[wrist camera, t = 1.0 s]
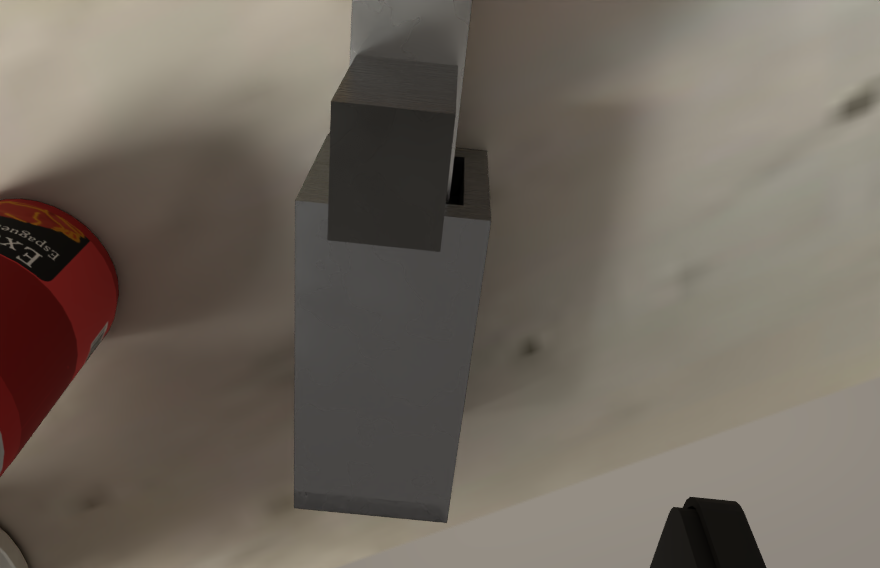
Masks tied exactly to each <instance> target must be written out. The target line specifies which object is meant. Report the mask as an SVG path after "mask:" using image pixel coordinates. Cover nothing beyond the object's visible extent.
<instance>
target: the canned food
mask: <svg viewBox="0 0 880 568" xmlns="http://www.w3.org/2000/svg"><path fill="white" fill-rule="evenodd" d="M118 296H119V290H118V279H117V275H116V271H115V267H114V265H113V263H112V261H111V259H110V257H109V254H108V252H107V251H106V249H105V248H104V247H103V245H102V244H101V242H100V241H99V240H98V238H97V237H96V236H95V235H94V234H93V233H92V232H91V231H90V230H89V229H88V228H87V227H86V226H85V225H83V224H82V223H81V222H79V221H78V220H76V219H75V218H74V217H72V216H71V215H69V214H67V213H65V212H63V211H62V210H60V209H58V208H56V207H53V206H50V205H47V204H44V203H41V202H38V201H32V200H26V199H5V200H0V477H1V475H2V474H3V473H4V471H5V470H6V469H7V468H8V466H9V465H10V464H11V463H12V462H13V460H14V459H15V458H16V456H17V455H18V454H19V452H20V451H21V449H22V448H23V447H24V445H25V444H26V443H27V441H28V440H29V439H30V437H31V436H32V434H33V433H34V432H35V430H36V429H37V428H38V426H39V425H40V424H41V422H42V421H43V419H44V418H45V417H46V415H47V414H48V413H49V411H50V410H51V409H52V407H53V406H54V405H55V403H56V402H57V400H58V399H59V398H60V396H61V395H62V394H63V392H64V391H65V390H66V388H67V387H68V385H69V384H70V383H71V381H72V380H73V379H74V377H75V376H76V375H77V373H78V372H79V370H80V369H81V368H82V366H83V365H84V364H85V362H86V361H87V360H88V358H89V357H90V355H91V354H92V353H93V351H94V350H95V349H96V347H97V346H98V345H99V343H100V342H101V340H102V339H103V338H104V336H105V335H106V334H107V332H108V331H109V329H110V327H111V325H112V322H113V320H114V317H115V312H116V307H117V301H118Z"/></svg>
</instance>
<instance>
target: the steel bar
mask: <svg viewBox="0 0 880 568" xmlns="http://www.w3.org/2000/svg"><path fill="white" fill-rule="evenodd" d="M471 6H472V0H352V17H351V42H350V67H349V69H348V71H347V73H346V75H345V77H344V78H343V80H342V82H341V84H340V86H339V88H338V89H337V91H336V93H335V95H334V97H333V99H332V100H331V126H330V162H329V198H328V235H327V240H329V241H339V242H349V243H358V244H368V245H378V246H387V247H397V248H406V249H416V250H426V251H435V252H440V250H441V241H442V232H443V223H444V214H445V206H446V204H449V198H450V189H451V180H452V172H453V163H454V154H455V145H456V137H457V128H458V119H459V111H460V102H461V93H462V84H463V76H464V67H465V58H466V49H467V41H468V32H469V23H470V14H471Z"/></svg>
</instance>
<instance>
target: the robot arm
mask: <svg viewBox="0 0 880 568" xmlns="http://www.w3.org/2000/svg"><path fill="white" fill-rule="evenodd" d="M0 568H28V566H27V563H26V561H25V559H24V557H23V556H22V554H21V552H20V550H19V548H18V547H17V546H16V545H15V543H14V542H13V541H12V540H11V538H10V537H9V536H8V535H7V534H6V533H5V532H4V531H3V530H2V529H1V528H0ZM650 568H766V566H765V563H764V561H763V558H762V556H761V553H760V551H759V548H758V546H757V544H756V541H755V538H754V536H753V534H752V531H751V529H750V526H749V524H748V521H747V519H746V516H745V514H744V511H743V510H742V508H741V506H740V505H739V504H738V503H737V502H735V501H725V500H716V499H706V498H696V497H690V498H689V499H687V500H686V502H685V504H684V506H683V508H678V507H673V508H672V509H671V511H670V513H669V515H668V518H667V521H666V523H665V526H664V529H663V532H662V535H661V538H660V540H659V543H658V546H657V549H656V552H655V554H654V558H653V560H652V563H651V566H650Z"/></svg>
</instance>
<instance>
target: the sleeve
mask: <svg viewBox="0 0 880 568" xmlns="http://www.w3.org/2000/svg"><path fill="white" fill-rule="evenodd" d="M329 162H330V134H328V135H327V137H326V139H325V141H324V143H323V145H322V147H321V149H320V151H319V153H318V155H317V157H316V159H315V161H314V164H313V166H312V168H311V170H310V172H309V174H308V176H307V178H306V180H305V182H304V184H303V186H302V188H301V190H300V192H299V194H298V196H297V198H296V200H295V402H294V508H298V509H308V510H318V511H329V512H339V513H350V514H360V515H370V516H381V517H391V518H401V519H412V520H422V521H433V522H443V523H447V518H448V511H449V505H450V498H451V491H452V484H453V477H454V470H455V464H456V457H457V450H458V443H459V436H460V430H461V423H462V416H463V409H464V402H465V395H466V389H467V382H468V375H469V368H470V361H471V355H472V348H473V341H474V334H475V327H476V320H477V314H478V307H479V300H480V293H481V286H482V280H483V273H484V266H485V259H486V252H487V245H488V239H489V232H490V225H491V211H490V194H489V177H488V159H487V151H483V150H474V149H464V148H455V154H454V163H453V172H452V180H451V189H450V198H449V204H446V206H445V214H444V223H443V232H442V241H441V250H440V252H435V251H426V250H416V249H406V248H397V247H387V246H378V245H368V244H358V243H349V242H339V241H329V240H327V235H328V198H329Z"/></svg>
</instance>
